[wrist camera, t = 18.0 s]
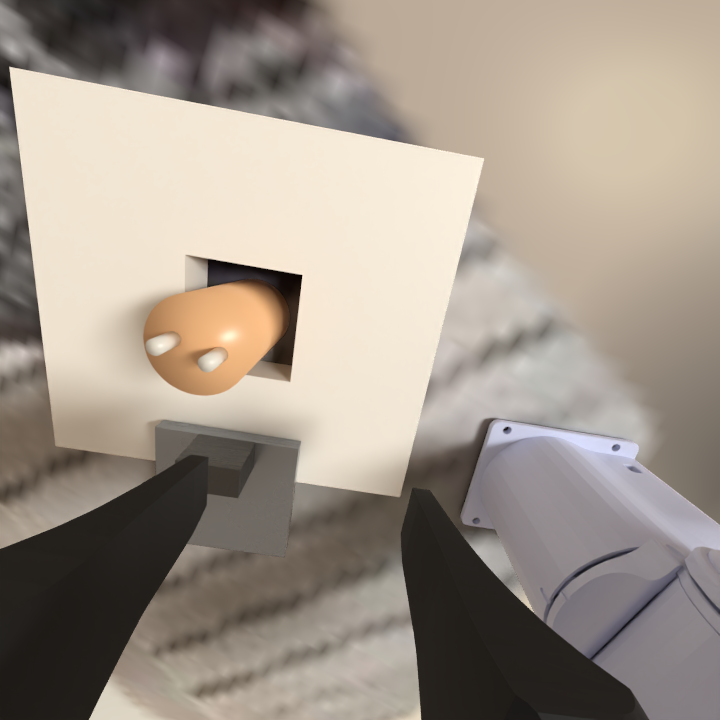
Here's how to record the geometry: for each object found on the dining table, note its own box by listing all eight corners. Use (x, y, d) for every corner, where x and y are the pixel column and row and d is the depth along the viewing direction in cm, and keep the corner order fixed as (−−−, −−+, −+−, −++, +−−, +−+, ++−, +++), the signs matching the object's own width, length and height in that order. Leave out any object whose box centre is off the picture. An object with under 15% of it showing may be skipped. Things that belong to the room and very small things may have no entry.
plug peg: (298, 292, 19) (251, 320, 11) (279, 357, 20) (224, 423, 12) (228, 268, 19) (129, 279, 11) (213, 335, 20) (114, 388, 12)
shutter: (301, 440, 19) (289, 477, 16) (287, 546, 21) (274, 596, 18) (163, 419, 19) (124, 453, 16) (164, 529, 21) (130, 576, 18)
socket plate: (467, 171, 17) (484, 158, 15) (395, 471, 23) (399, 497, 20) (61, 93, 16) (9, 66, 14) (89, 424, 22) (55, 446, 19)
